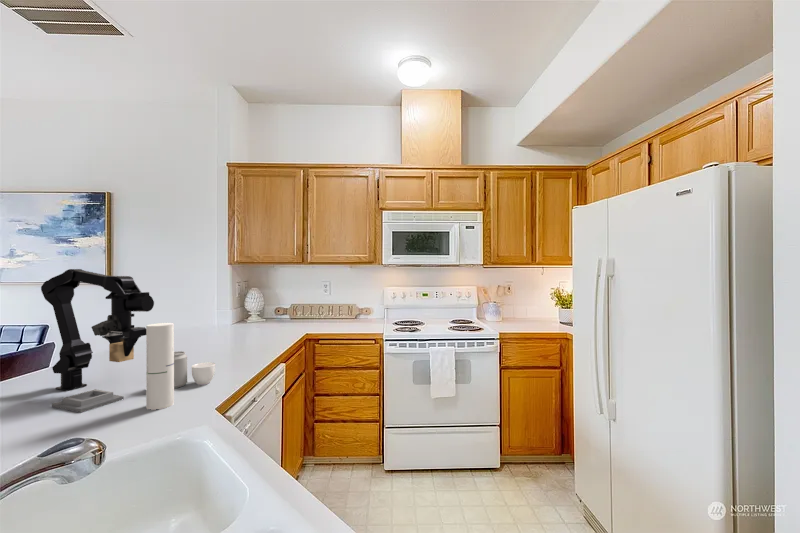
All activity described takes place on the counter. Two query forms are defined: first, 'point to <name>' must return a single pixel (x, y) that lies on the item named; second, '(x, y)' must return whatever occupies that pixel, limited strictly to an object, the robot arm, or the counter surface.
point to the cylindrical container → (159, 365)
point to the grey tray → (87, 400)
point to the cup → (203, 373)
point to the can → (180, 369)
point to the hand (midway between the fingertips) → (121, 355)
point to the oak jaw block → (119, 353)
